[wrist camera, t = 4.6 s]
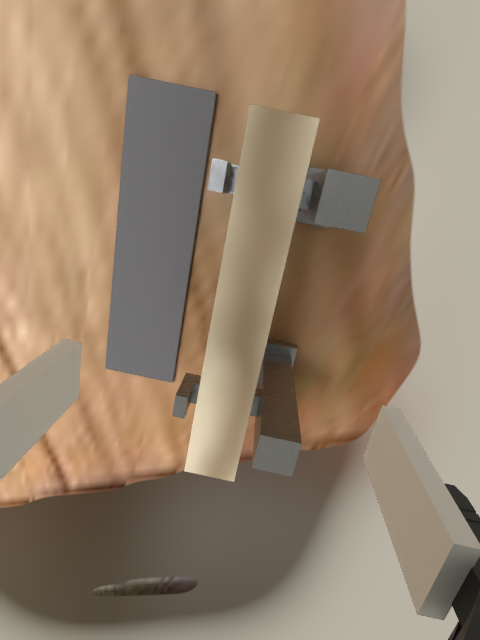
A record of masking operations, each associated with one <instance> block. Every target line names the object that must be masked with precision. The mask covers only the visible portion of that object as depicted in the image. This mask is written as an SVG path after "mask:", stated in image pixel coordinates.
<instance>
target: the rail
mask: <svg viewBox="0 0 480 640" xmlns="http://www.w3.org/2000/svg"><path fill="white" fill-rule="evenodd" d="M319 120H320V118H315V117H310V116H306V115H301V114H296V113H291V112H286V111H281V110H276V109H271V108H266V107H261V106H256V105H251V104H250V105H249V111H248V117H247V122H246V128H245V133H244V139H243V145H242V150H241V156H240V162H239V167H238V173H237V178H236V184H235V190H234V195H233V201H232V206H231V212H230V218H229V223H228V229H227V235H226V240H225V246H224V251H223V257H222V263H221V268H220V274H219V279H218V285H217V291H216V296H215V302H214V308H213V313H212V319H211V324H210V330H209V336H208V341H207V347H206V352H205V358H204V364H203V369H202V375H201V381H200V386H199V392H198V397H197V403H196V409H195V414H194V420H193V425H192V431H191V437H190V442H189V448H188V454H187V459H186V465H185V470H184V471H186V472H191V473H196V474H200V475H205V476H209V477H215V478H219V479H224V480H228V481H233V482H234V479H235V475H236V470H237V466H238V462H239V458H240V454H241V450H242V445H243V441H244V437H245V433H246V428H247V424H248V420H249V416H250V412H251V407H252V403H253V399H254V395H255V390H256V386H257V382H258V378H259V374H260V369H261V365H262V361H263V357H264V352H265V348H266V344H267V340H268V336H269V331H270V327H271V323H272V319H273V314H274V310H275V306H276V302H277V298H278V293H279V289H280V285H281V281H282V276H283V272H284V268H285V264H286V260H287V255H288V251H289V247H290V243H291V238H292V234H293V230H294V226H295V221H296V217H297V213H298V209H299V205H300V200H301V196H302V192H303V188H304V183H305V179H306V175H307V171H308V167H309V162H310V158H311V154H312V150H313V145H314V141H315V137H316V133H317V129H318V124H319Z"/></svg>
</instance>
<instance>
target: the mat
mask: <svg viewBox="0 0 480 640" xmlns="http://www.w3.org/2000/svg"><path fill="white" fill-rule="evenodd" d="M216 96H217V93H216V92H213V91H208V90H203V89H198V88H193V87H188V86H183V85H178V84H173V83H168V82H163V81H158V80H153V79H149V78H144V77H139V76H134V75H129V80H128V93H127V105H126V118H125V130H124V143H123V155H122V168H121V180H120V193H119V205H118V218H117V230H116V243H115V255H114V268H113V280H112V293H111V305H110V318H109V330H108V343H107V355H106V369H111V370H115V371H120V372H125V373H130V374H134V375H139V376H144V377H148V378H153V379H158V380H163V381H167V382H172V383H173V381H174V375H175V369H176V362H177V355H178V349H179V342H180V335H181V329H182V322H183V315H184V309H185V302H186V296H187V289H188V282H189V276H190V269H191V262H192V256H193V249H194V242H195V236H196V229H197V223H198V216H199V209H200V203H201V196H202V189H203V183H204V176H205V169H206V163H207V156H208V150H209V143H210V136H211V130H212V123H213V116H214V110H215V103H216Z"/></svg>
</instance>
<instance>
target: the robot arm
mask: <svg viewBox="0 0 480 640" xmlns="http://www.w3.org/2000/svg"><path fill="white" fill-rule="evenodd" d="M81 343H82V342H78V341H73V340H68V339H63V340H62V341H60V342H59V343H57V344H56V345H55V346H53V347H52V348H50V349H49V350H47V351H46V352H45V353H43V354H42V355H40V356H39V357H38V358H36V359H35V360H33V361H32V362H31V363H29V364H28V365H26V366H25V367H23V368H22V369H21V370H19V371H18V372H16V373H15V374H14V375H12V376H11V377H9V378H8V379H7V380H5V381H4V382H2V383H1V384H0V481H1V479H2V478H3V477H4V476H5V475H6V474H7V473H8V472H9V471H10V470H11V469H12V468H13V467H14V466H15V465H16V463H17V462H18V461H19V460H20V459H21V458H22V457H23V456H24V455H25V454H26V453H27V452H28V451H29V450H30V449H31V447H32V446H33V445H34V444H35V443H36V442H37V441H38V440H39V439H40V438H41V437H42V436H43V435H44V434H45V433H46V432H47V430H48V429H49V428H50V427H51V426H52V425H53V424H54V423H55V422H56V421H57V420H58V419H59V418H60V417H61V416H62V414H63V413H64V412H65V411H66V410H67V409H68V408H69V407H70V406H71V405H72V404H73V403H74V402H75V401H76V400H77V398H78V397H79V381H80V362H81ZM363 459H364V462H365V465H366V468H367V471H368V474H369V476H370V479H371V482H372V485H373V488H374V491H375V494H376V497H377V500H378V503H379V505H380V508H381V511H382V514H383V517H384V520H385V523H386V526H387V528H388V531H389V534H390V537H391V540H392V543H393V546H394V548H395V551H396V555H397V557H398V560H399V563H400V566H401V569H402V572H403V575H404V578H405V581H406V584H407V586H408V589H409V592H410V595H411V598H412V601H413V604H414V606H415V610H416V613H417V614H418V615H422V616H427V617H431V618H436V619H441V620H444V619H445V617H446V616H447V614H448V612H449V610H450V608H451V607H452V606H453V608H454V610H455V613H456V615H457V617H458V620H459V622H458V623H457V625H456V627H455V629H454V630H453V632H452V634H451V635H450V637H449V639H448V640H480V517H479V516H478V514H476V511H475V509H474V508H473V506H472V505H471V503H470V502H469V500H468V499H467V497H466V496H464V495H463V494H462V493H461V492H460V491H459V490H458V489H457V488H456V487H455V486H454V485H449V484H444V483H443V481H442V479H441V478H440V476H439V474H438V473H437V471H436V469H435V467H434V466H433V464H432V462H431V461H430V459H429V458H428V456H427V454H426V452H425V451H424V449H423V447H422V446H421V444H420V442H419V440H418V439H417V437H416V435H415V434H414V432H413V430H412V429H411V427H410V425H409V424H408V422H407V420H406V419H405V417H404V415H403V413H402V412H401V410H400V409H397V408H393V407H388V406H383V405H382V407H381V410H380V412H379V415H378V418H377V421H376V423H375V426H374V429H373V431H372V434H371V437H370V440H369V443H368V445H367V448H366V451H365V453H364V456H363Z"/></svg>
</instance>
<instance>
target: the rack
mask: <svg viewBox="0 0 480 640" xmlns="http://www.w3.org/2000/svg"><path fill="white" fill-rule="evenodd" d="M238 167H239V165H235V164H231V163H230V162H228V161H225V160H220V159H215V158H212V164H211V171H210V177H209V184H208V190H210V191H215V192H219V193H229V194H234V190H235V184H236V178H237V173H238ZM380 182H381V179H377V178H373V177H368V176H363V175H358V174H353V173H348V172H343V171H338V170H333V169H329V168H328V169H325V170H323V169H318V168H313V167H308V171H307V175H306V179H305V183H304V188H303V192H302V196H301V200H300V205H299V209H298V213H297V217H296V222H301V223H306V224H311V225H316V226H321V227H326V228H331V227H336V228H341V229H346V230H350V231H355V232H360V233H365V231H366V228H367V225H368V221H369V218H370V215H371V211H372V208H373V205H374V201H375V198H376V195H377V192H378V188H379V185H380ZM297 350H298V347H297V345H292V344H287V343H283V342H278V341H273V340H267V344H266V348H265V352H264V357H263V361H262V365H261V369H260V374H259V378H258V382H257V383H258V388H256V390H255V395H254V399H253V403H252V407H251V412H250V415H251V416H256V418H255V433H254V447H253V462H252V468H254V469H258V470H263V471H268V472H272V473H277V474H282V475H286V476H292V474H293V471H294V467H295V464H296V461H297V457H298V454H299V451H300V447H301V444H302V443H301V434H300V426H299V418H298V409H297V401H296V393H295V385H294V376H293V365H294V362H295V358H296V354H297ZM200 381H201V376H199V375H194V374H189V373H186V375H185V377H184V379H183V381H182V383H181V385H180V387H179V389H178V392H177V394H176V397H175V403H174V410H173V416H174V417H179V418H185V415H186V413H187V410H188V408H189V405H190V403H195V404H196V403H197V397H198V392H199V386H200Z"/></svg>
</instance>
